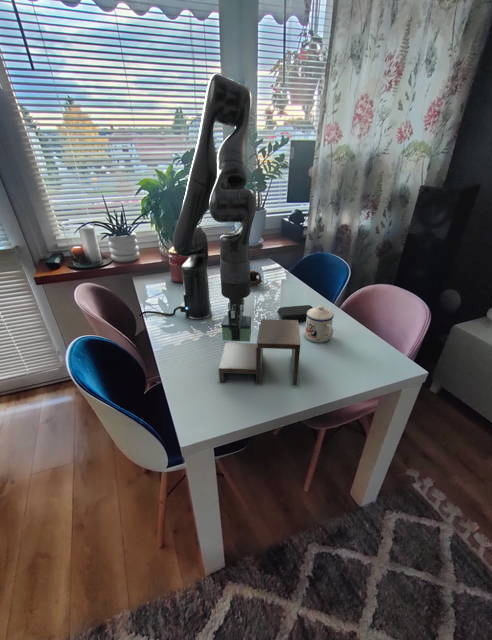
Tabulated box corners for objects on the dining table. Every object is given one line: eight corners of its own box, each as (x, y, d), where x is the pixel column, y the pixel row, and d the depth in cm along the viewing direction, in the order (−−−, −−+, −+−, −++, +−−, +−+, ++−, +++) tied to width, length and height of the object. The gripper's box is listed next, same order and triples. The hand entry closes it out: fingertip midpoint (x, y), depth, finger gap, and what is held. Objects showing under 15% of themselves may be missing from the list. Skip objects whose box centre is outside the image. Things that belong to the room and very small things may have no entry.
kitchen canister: (176, 273, 170) (171, 238, 160) (200, 274, 169) (196, 239, 159) (167, 282, 159) (161, 245, 150) (192, 283, 158) (188, 246, 148)
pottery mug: (265, 284, 158) (266, 272, 151) (256, 298, 155) (256, 287, 147) (243, 274, 161) (243, 263, 153) (234, 288, 157) (233, 277, 150)
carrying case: (282, 325, 121) (320, 322, 124) (283, 318, 120) (321, 314, 122) (276, 313, 130) (311, 310, 132) (276, 306, 129) (312, 303, 131)
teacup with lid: (299, 333, 116) (302, 303, 110) (320, 328, 119) (324, 298, 113) (318, 349, 107) (322, 317, 101) (340, 343, 110) (346, 312, 104)
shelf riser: (219, 382, 93) (216, 342, 85) (226, 355, 104) (224, 318, 97) (296, 385, 91) (300, 344, 84) (295, 358, 103) (298, 320, 95)
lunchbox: (222, 340, 90) (221, 324, 87) (225, 330, 94) (224, 315, 92) (249, 341, 89) (249, 325, 86) (251, 331, 94) (251, 316, 91)
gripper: (224, 267, 88) (227, 322, 98) (215, 286, 76) (219, 347, 86) (252, 267, 88) (252, 323, 97) (247, 287, 76) (248, 348, 85)
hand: (237, 334), depth 92 cm, fingers closed on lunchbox, 5 cm apart
